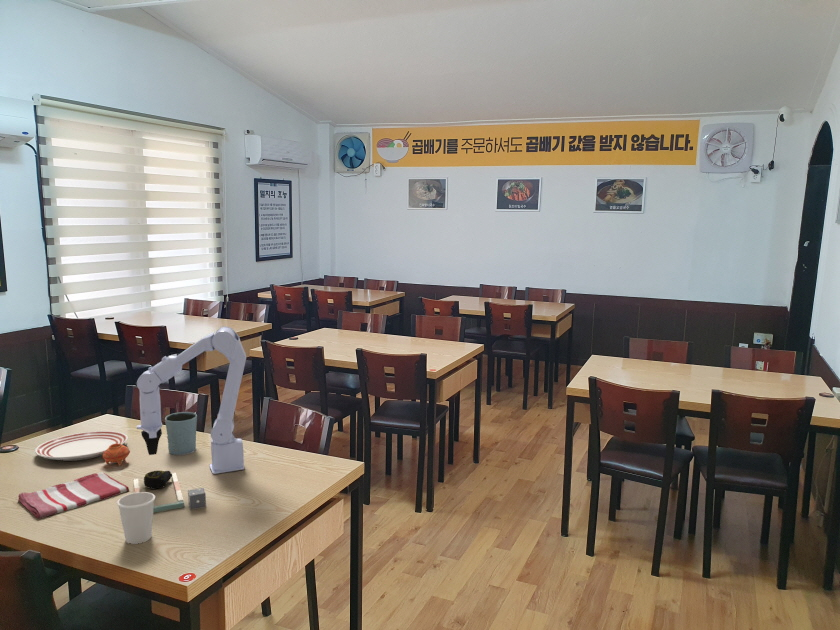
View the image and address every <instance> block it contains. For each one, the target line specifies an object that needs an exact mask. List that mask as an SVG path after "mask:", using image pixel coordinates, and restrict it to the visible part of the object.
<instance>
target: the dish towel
mask: <svg viewBox="0 0 840 630" xmlns="http://www.w3.org/2000/svg"><path fill="white" fill-rule="evenodd" d="M127 492H130V488H129V486H128V485H126V484H124V483H122V482H120V481H118V479H115V478H113V477H111V476H110V475H108V474H107V473H106V472H102V471H101V472H96V473H92V474H88V475H85V476H82V477H79V478H76V479H74V480H72V481H68V482H64V483H58V484H55V485H52V486H50V487H48V488H45V489H40V490H38V491H33V492H20V493H19V494H18V497H17V498H18V502H20V503H21V504H22V505H23V506H24V507H25V508H26V509H27V510H28V511H29V512H30V513H31V514H32V515H34V516H35V518H37V519H44V518H46V517H50V516H53V515H57V514H60V513H64V512H67V511H70V510H73V509H76V508H80V507H83V506H86V505H88V504H91V503H95V502H98V501H102V500H105V499H109V498H111V497H115V496H117V495H120V494H123V493H127Z"/></svg>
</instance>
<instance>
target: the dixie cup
mask: <svg viewBox="0 0 840 630" xmlns="http://www.w3.org/2000/svg"><path fill="white" fill-rule="evenodd" d="M155 499H156V495H155V494H154V493H152V492H148V491H147V492H146V491H142V492H141V491H140V492H137V493H135V492H132V493H128V494H126V495H123V496H121V497H120V498H119V499H118V500H117V501H116V504H117V506H118V510H119V515H120V519H121V525H122V528H123V533H124V538H125V543H126V544H129V543H131V544H130V545H138V543H139V544H142V542H143V543H145V542H147V541H149V540H151V539H152V533H153V532H152V530H153V517H154V513H153V508H154V506H155Z"/></svg>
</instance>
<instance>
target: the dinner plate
mask: <svg viewBox="0 0 840 630" xmlns="http://www.w3.org/2000/svg"><path fill="white" fill-rule="evenodd" d="M128 439H129V437H128V435H127V434H125V433H123V432H121V431H112V430H94V431H85V432H84V431H83V432H77V433H72V434H66V435H63V436H59V437H55V438H52V439H50V440H47V441H45V442H43V443H40V444H39V445H38V446H37V447H36V448H35V449H34V453H35V454H36V455H38V456H39V457H42V458H45V459H49V460H57V461H62V460H63V461H64V462H66V461H67V462H69V461H70V462H72V461H73V462H74V461H83V460H89V459H93V458H97V457H100V456H103V453H104V452H105V451H106V450H107V449H108V448H109V446H110V445H112V444H122V445H124V444H125V443H126V442H127V441H128Z"/></svg>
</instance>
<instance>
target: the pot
mask: <svg viewBox="0 0 840 630" xmlns="http://www.w3.org/2000/svg"><path fill="white" fill-rule="evenodd" d="M130 453H131V450H130V448H128V446H125V445H124V444H123V445H122V444H112V445H110V446H109V448H108V449H107V450H106V451H105V452H104V453H103V455H102V459H104V461H105V464H107V465H109V464H110V463H117V464H118V466H119V467H120V466H121V465H122V462H123V461H125V460H126V458H128V457H129V455H130Z"/></svg>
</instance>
